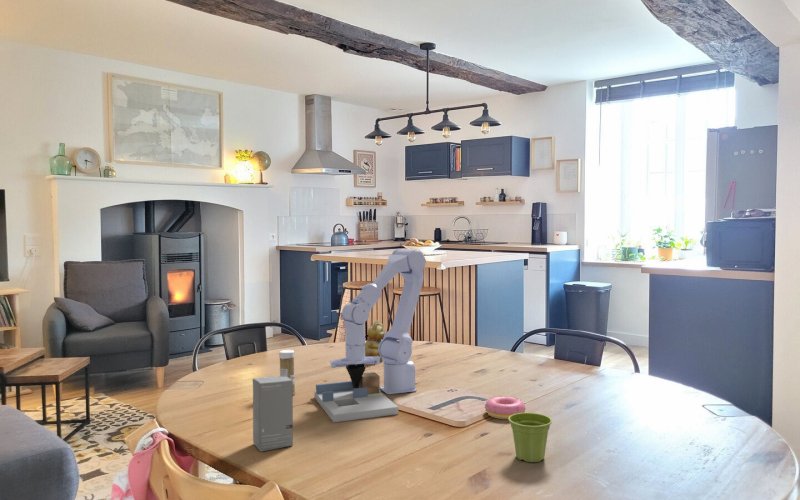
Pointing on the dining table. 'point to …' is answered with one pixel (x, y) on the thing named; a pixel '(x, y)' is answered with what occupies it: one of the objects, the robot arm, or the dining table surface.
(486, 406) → the doughnut
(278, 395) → the skincare box
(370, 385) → the walnut block
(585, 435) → the dining table surface
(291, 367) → the sprinkles bottle
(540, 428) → the plant pot
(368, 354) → the decorative figurine
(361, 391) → the deck
